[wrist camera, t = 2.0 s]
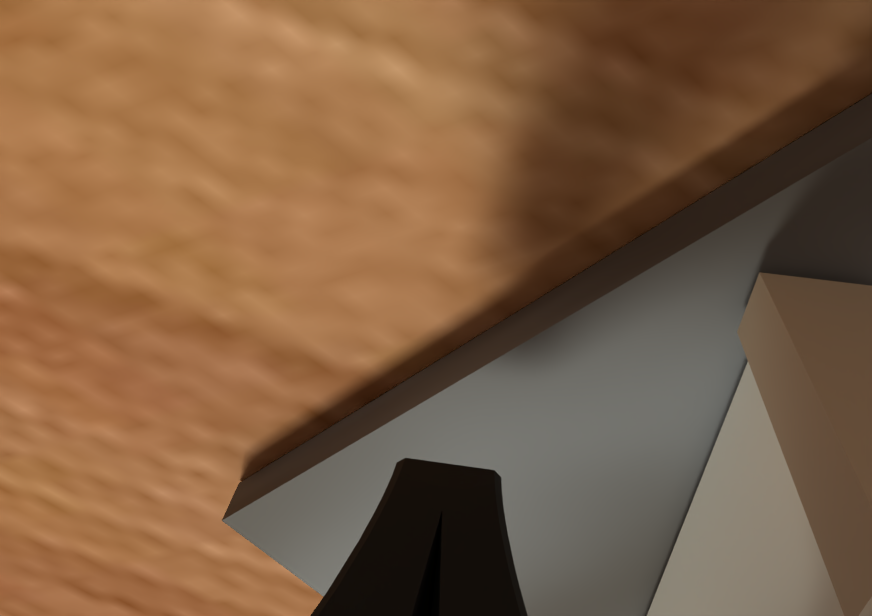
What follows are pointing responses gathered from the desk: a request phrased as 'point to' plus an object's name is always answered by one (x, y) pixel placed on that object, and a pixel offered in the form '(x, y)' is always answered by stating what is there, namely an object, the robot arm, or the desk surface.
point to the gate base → (589, 391)
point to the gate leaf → (786, 466)
